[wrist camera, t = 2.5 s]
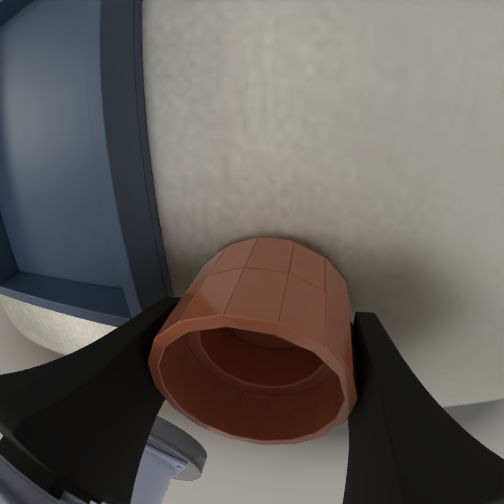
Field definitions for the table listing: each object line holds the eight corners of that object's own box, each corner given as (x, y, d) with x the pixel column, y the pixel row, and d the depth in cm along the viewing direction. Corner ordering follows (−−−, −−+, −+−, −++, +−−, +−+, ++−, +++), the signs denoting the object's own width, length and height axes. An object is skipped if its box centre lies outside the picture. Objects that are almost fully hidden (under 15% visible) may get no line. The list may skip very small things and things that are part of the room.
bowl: (300, 370, 13) (287, 458, 9) (184, 316, 13) (137, 395, 9) (379, 278, 10) (402, 377, 6) (233, 201, 10) (175, 271, 6)
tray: (174, 299, 12) (149, 334, 10) (22, 274, 15) (-2, 293, 13) (145, -63, 5) (112, -84, 3) (-13, 36, 8) (-42, 38, 6)
